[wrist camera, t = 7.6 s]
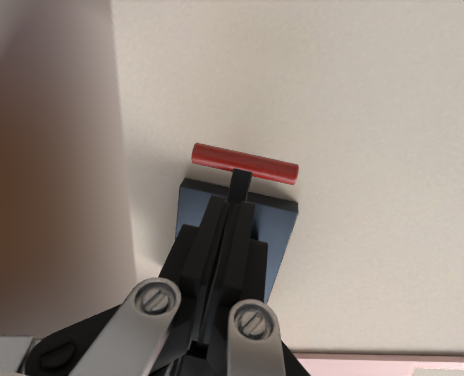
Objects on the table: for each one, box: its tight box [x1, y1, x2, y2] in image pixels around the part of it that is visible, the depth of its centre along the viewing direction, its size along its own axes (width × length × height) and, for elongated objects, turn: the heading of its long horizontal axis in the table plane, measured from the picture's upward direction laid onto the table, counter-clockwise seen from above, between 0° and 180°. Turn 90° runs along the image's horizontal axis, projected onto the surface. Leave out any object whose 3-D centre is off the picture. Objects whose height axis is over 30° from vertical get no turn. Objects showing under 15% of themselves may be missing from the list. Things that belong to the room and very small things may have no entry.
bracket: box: [168, 178, 298, 376], centre depth 24 cm, size 12×10×14 cm
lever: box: [179, 143, 299, 376], centre depth 18 cm, size 15×6×2 cm, turn 171°
